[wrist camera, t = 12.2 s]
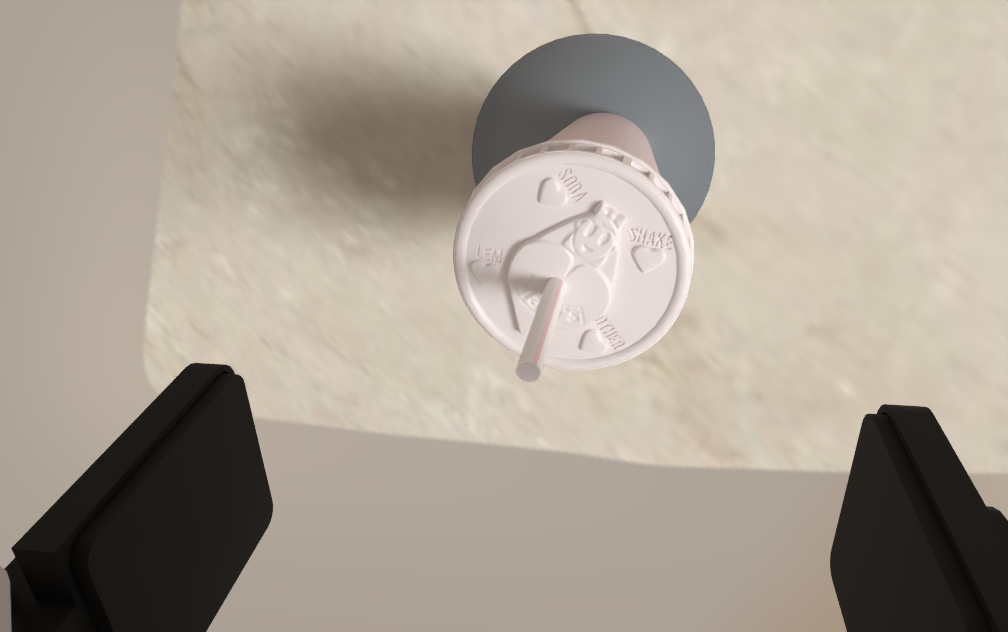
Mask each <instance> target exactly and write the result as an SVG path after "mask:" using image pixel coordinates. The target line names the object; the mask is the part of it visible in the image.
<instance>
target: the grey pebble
mask: <svg viewBox="0 0 1008 632" xmlns="http://www.w3.org/2000/svg"><path fill="white" fill-rule="evenodd" d="M602 112H604V113H613V114H617V115H620V116H623V117H625V118H627V119H628V120H630V121H632V122H633V123H634V124H636V125H637V126H638V127H639V128H640V129H641V131H642V132H643V133H644V135H645V136H646V138H647V140H648V142H649V144H650V147H651V150H652V153H653V156H654V159H655V162H656V164H657V167H658V170H659V173H660V176H661V177H663V178H664V179H665V180H666V181H667V182H668V183H669V185H670V186H671V188H672V189H673V191H674V193H675V194H676V196H677V197H678V199H679V200H680V202H681V204H682V205H683V207H684V208H685V210H686V214H687V217H688V221H689V224H690V223H691V222H692V221H693V219H694V218H695V216H696V215H697V213H698V211H699V210H700V208H701V206H702V204H703V202H704V200H705V197H706V195H707V193H708V190H709V187H710V183H711V179H712V176H713V169H714V162H715V141H714V134H713V127H712V124H711V120H710V117H709V113H708V110H707V108H706V106H705V104H704V102H703V99H702V97H701V95H700V94H699V92H698V90H697V89H696V87H695V86H694V84H693V83H692V81H691V80H690V79H689V78H688V77H687V75H686V74H685V73H684V72H683V71H682V70H681V69H680V68H679V67H678V66H677V65H676V64H675V63H674V62H672V61H671V60H670V59H669V58H667V57H666V56H664V55H663V54H661V53H660V52H658V51H657V50H655V49H653V48H651V47H649V46H647V45H645V44H643V43H641V42H638V41H635V40H632V39H628V38H625V37H621V36H615V35H609V34H583V35H574V36H569V37H565V38H562V39H558V40H555V41H552V42H550V43H547V44H545V45H542V46H540V47H538V48H537V49H535V50H533V51H531V52H530V53H528V54H526V55H525V56H524V57H522V58H521V59H520V60H518V61H517V62H516V63H514V64H513V65H512V66H511V67H510V68H509V69H508V70H507V71H506V72H505V73H504V74H503V75H502V76H501V78H500V79H499V80H498V82H497V83H496V84H495V85H494V87H493V88H492V90H491V91H490V93H489V95H488V97H487V98H486V100H485V102H484V104H483V106H482V109H481V111H480V114H479V116H478V120H477V124H476V127H475V131H474V138H473V147H472V163H473V170H474V177H475V181H476V185H477V186H478V184H479V183H480V182H481V181H482V180H483V178H484V177H485V176H486V175H487V174H488V173H489V171H490V170H491V169H492V168H493V167H494V166H496V165H497V164H499V163H500V162H502V161H503V160H505V159H506V158H508V157H509V156H511V155H512V154H514V153H515V152H517V151H518V150H521V149H524V148H528V147H531V146H534V145H537V144H540V143H543V142H546V141H548V140H550V139H551V138H552V137H554V136H555V135H556V134H558V133H559V132H560V131H562V130H563V129H564V128H566V127H567V126H568V125H570V124H571V123H572V122H574V121H575V120H577V119H579V118H581V117H583V116H586V115H589V114H593V113H602Z"/></svg>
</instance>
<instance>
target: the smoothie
mask: <svg viewBox="0 0 1008 632" xmlns="http://www.w3.org/2000/svg"><path fill="white" fill-rule="evenodd" d="M453 263H454V271H455V276H456V281H457V284H458V287H459V290H460V293H461V296H462V298H463V300H464V302H465V304H466V306H467V308H468V309H469V311H470V313H471V314H472V316H473V317H474V318H475V320H476V321H477V322H478V324H479V325H480V326H481V327H482V328H483V330H485V331H486V332H487V333H488V334H489V335H490V336H491V337H492V338H493V339H494V340H495V341H496V342H498V343H499V344H500V345H502V346H503V347H505V348H506V349H507V350H509V351H511V352H513V353H514V354H516V355H518V356H520V358H519V361H518V363H517V366H516V375H517V376H518V378H519V379H520V380H522V381H524V382H528V383H531V382H535V381H537V380H538V379H539V378H540V375H541V372H542V369H543V366H547V367H552V368H557V369H564V370H593V369H600V368H605V367H609V366H613V365H616V364H619V363H622V362H625V361H627V360H629V359H632V358H634V357H636V356H637V355H639V354H641V353H643V352H644V351H646V350H647V349H649V348H650V347H651V346H653V345H654V344H655V343H656V342H657V341H659V340H660V339H661V338H662V337H663V336H664V335H665V334H666V333H667V331H668V330H669V329H670V328H671V326H672V325H673V324H674V322H675V321H676V319H677V318H678V316H679V314H680V312H681V310H682V308H683V306H684V304H685V301H686V298H687V296H688V292H689V288H690V282H691V275H692V272H693V269H694V238H693V234H692V231H691V228H690V224H689V221H688V217H687V214H686V210H685V208H684V207H683V205H682V204H681V202H680V200H679V199H678V197H677V196H676V194H675V193H674V191H673V189H672V188H671V186H670V185H669V183H668V182H667V181H666V180H665V179H664V178H663V177H661V176H660V173H659V170H658V167H657V164H656V162H655V159H654V156H653V153H652V150H651V147H650V144H649V142H648V140H647V138H646V136H645V135H644V133H643V132H642V131H641V129H640V128H639V127H638V126H637V125H636V124H634V123H633V122H632V121H630V120H628V119H627V118H625V117H623V116H620V115H617V114H613V113H604V112H602V113H593V114H589V115H586V116H583V117H581V118H579V119H577V120H575V121H574V122H572V123H571V124H570V125H568V126H567V127H566V128H564V129H563V130H562V131H560V132H559V133H558V134H556V135H555V136H554V137H552V138H551V139H550V140H548V141H546V142H543V143H540V144H537V145H534V146H531V147H528V148H524V149H521V150H518V151H517V152H515V153H514V154H512V155H511V156H509V157H508V158H506V159H505V160H503V161H502V162H500V163H499V164H497V165H496V166H494V167H493V168H492V169H491V170H490V171H489V173H488V174H487V175H486V176H485V177H484V178H483V180H482V181H481V182H480V183H479V184H478V186H477V187H476V188H475V189H474V190H473V193H472V195H471V197H470V199H469V202H468V204H467V206H466V207H465V209H464V211H463V213H462V215H461V218H460V220H459V223H458V226H457V230H456V234H455V239H454V248H453Z"/></svg>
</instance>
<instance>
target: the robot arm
mask: <svg viewBox="0 0 1008 632" xmlns="http://www.w3.org/2000/svg"><path fill="white" fill-rule="evenodd" d="M272 512H273V503H272V497H271V493H270V489H269V485H268V480H267V476H266V472H265V468H264V463H263V459H262V455H261V451H260V447H259V443H258V438H257V434H256V430H255V425H254V422H253V417H252V413H251V408H250V404H249V400H248V396H247V391H246V387H245V383H244V380H243V378H242V377H241V376H240V375H236V374H235V373H234V371H233V369H232V368H231V367H230V366H228V365H220V364H203V363H193V364H190V365H189V366H187V367H186V368H185V369H184V370H183V371H182V372H181V373H180V374H179V375H178V376H177V377H176V378H175V379H174V380H173V381H172V382H171V383H170V385H169V386H168V387H167V388H166V389H165V390H164V391H163V392H162V393H161V394H160V395H159V396H158V397H157V398H156V399H155V400H154V401H153V402H152V403H151V404H150V405H149V406H148V407H147V408H146V409H145V410H144V412H143V413H142V414H141V415H140V416H139V417H138V418H137V419H136V420H135V421H134V422H133V423H132V424H131V425H130V426H129V427H128V428H127V429H126V430H125V431H124V432H123V433H122V434H121V435H120V436H119V437H118V438H117V439H116V440H115V442H114V443H113V444H112V445H111V446H110V447H109V448H108V449H107V450H106V451H105V452H104V453H103V454H102V455H101V456H100V457H99V458H98V459H97V460H96V461H95V462H94V463H93V464H92V465H91V466H90V467H89V468H88V470H86V472H85V473H84V474H83V475H82V476H81V477H80V478H79V479H78V480H77V481H76V482H75V483H74V484H73V485H72V486H71V487H70V488H69V489H68V490H67V491H66V492H65V493H64V494H63V496H61V497H60V498H59V500H57V502H56V503H55V504H54V505H53V506H52V507H51V508H50V509H49V510H48V511H47V512H46V513H45V514H44V515H43V516H42V517H41V518H40V519H39V520H38V521H37V522H36V523H35V524H34V525H33V526H32V527H31V529H29V531H28V532H27V533H26V534H25V535H24V536H23V537H22V538H21V539H20V540H19V541H18V542H17V543H16V544H15V545H14V546H13V547H12V551H13V553H14V555H15V558H14V560H13V561H12V562H11V563H10V564H9V565H8V566H7V567H6V568H5V569H3V568H2V567H0V632H206V631H207V629H208V627H209V626H210V624H211V622H212V621H213V619H214V617H215V616H216V614H217V612H218V610H219V609H220V607H221V606H222V604H223V602H224V600H225V599H226V597H227V595H228V594H229V592H230V590H231V589H232V587H233V585H234V583H235V582H236V580H237V578H238V577H239V575H240V573H241V572H242V570H243V568H244V566H245V565H246V563H247V561H248V560H249V558H250V556H251V555H252V553H253V551H254V550H255V548H256V546H257V544H258V543H259V541H260V539H261V538H262V536H263V534H264V533H265V531H266V529H267V528H268V526H269V523H270V521H271V517H272ZM830 569H831V576H832V580H833V584H834V587H835V591H836V594H837V598H838V601H839V605H840V608H841V612H842V615H843V619H844V622H845V626H846V629H847V632H1008V521H1007V519H1006V518H1005V517H1004V516H1003V514H1002V513H1001V512H1000V511H999V510H997V509H995V508H994V507H986V505H985V504H984V502H983V500H982V498H981V497H980V495H979V493H978V491H977V490H976V488H975V486H974V485H973V483H972V481H971V479H970V477H969V476H968V474H967V472H966V470H965V469H964V467H963V465H962V463H961V462H960V460H959V458H958V456H957V455H956V453H955V451H954V449H953V448H952V446H951V444H950V442H949V441H948V439H947V437H946V435H945V434H944V432H943V430H942V428H941V427H940V425H939V423H938V421H937V420H936V418H935V416H934V415H933V413H932V412H931V410H930V409H929V408H927V407H920V406H903V405H886V404H884V405H882V406H881V407H880V408H879V410H878V412H877V414H867V415H865V417H864V419H863V422H862V426H861V430H860V434H859V438H858V442H857V446H856V451H855V455H854V459H853V463H852V467H851V471H850V475H849V480H848V484H847V488H846V492H845V496H844V500H843V504H842V509H841V513H840V517H839V521H838V525H837V529H836V533H835V537H834V542H833V546H832V550H831V557H830Z"/></svg>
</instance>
